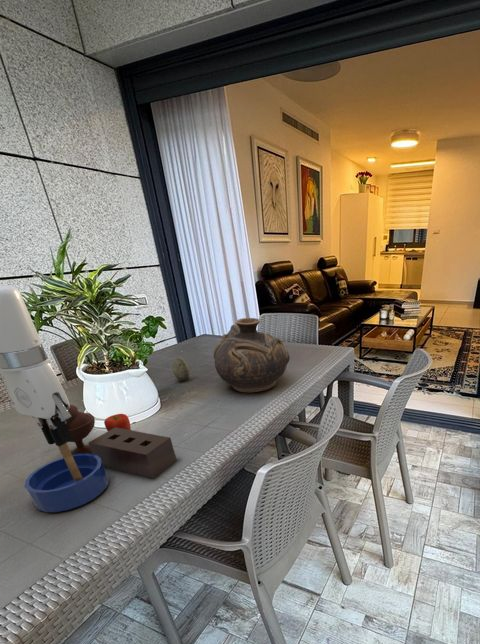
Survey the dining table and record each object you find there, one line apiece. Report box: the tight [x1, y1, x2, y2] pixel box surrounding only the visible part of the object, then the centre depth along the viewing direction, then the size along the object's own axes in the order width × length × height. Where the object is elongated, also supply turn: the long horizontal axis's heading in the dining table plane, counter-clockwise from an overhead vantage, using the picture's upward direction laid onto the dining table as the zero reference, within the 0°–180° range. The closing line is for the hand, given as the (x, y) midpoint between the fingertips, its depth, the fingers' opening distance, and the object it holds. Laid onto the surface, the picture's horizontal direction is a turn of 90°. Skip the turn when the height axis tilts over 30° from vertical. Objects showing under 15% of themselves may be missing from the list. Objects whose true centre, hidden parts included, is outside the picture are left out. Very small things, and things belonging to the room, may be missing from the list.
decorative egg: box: [172, 356, 191, 382], centre depth 141 cm, size 6×6×10 cm
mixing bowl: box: [24, 453, 110, 513], centre depth 80 cm, size 15×15×6 cm
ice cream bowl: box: [54, 404, 96, 455], centre depth 94 cm, size 11×11×15 cm
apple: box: [103, 413, 132, 432], centre depth 101 cm, size 6×6×8 cm
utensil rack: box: [88, 427, 177, 479], centre depth 90 cm, size 19×8×7 cm, turn 70°
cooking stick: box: [46, 417, 83, 482], centre depth 76 cm, size 2×2×18 cm
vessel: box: [213, 317, 291, 393], centre depth 131 cm, size 27×28×25 cm
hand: (60, 441), depth 74 cm, fingers closed on cooking stick, 1 cm apart
